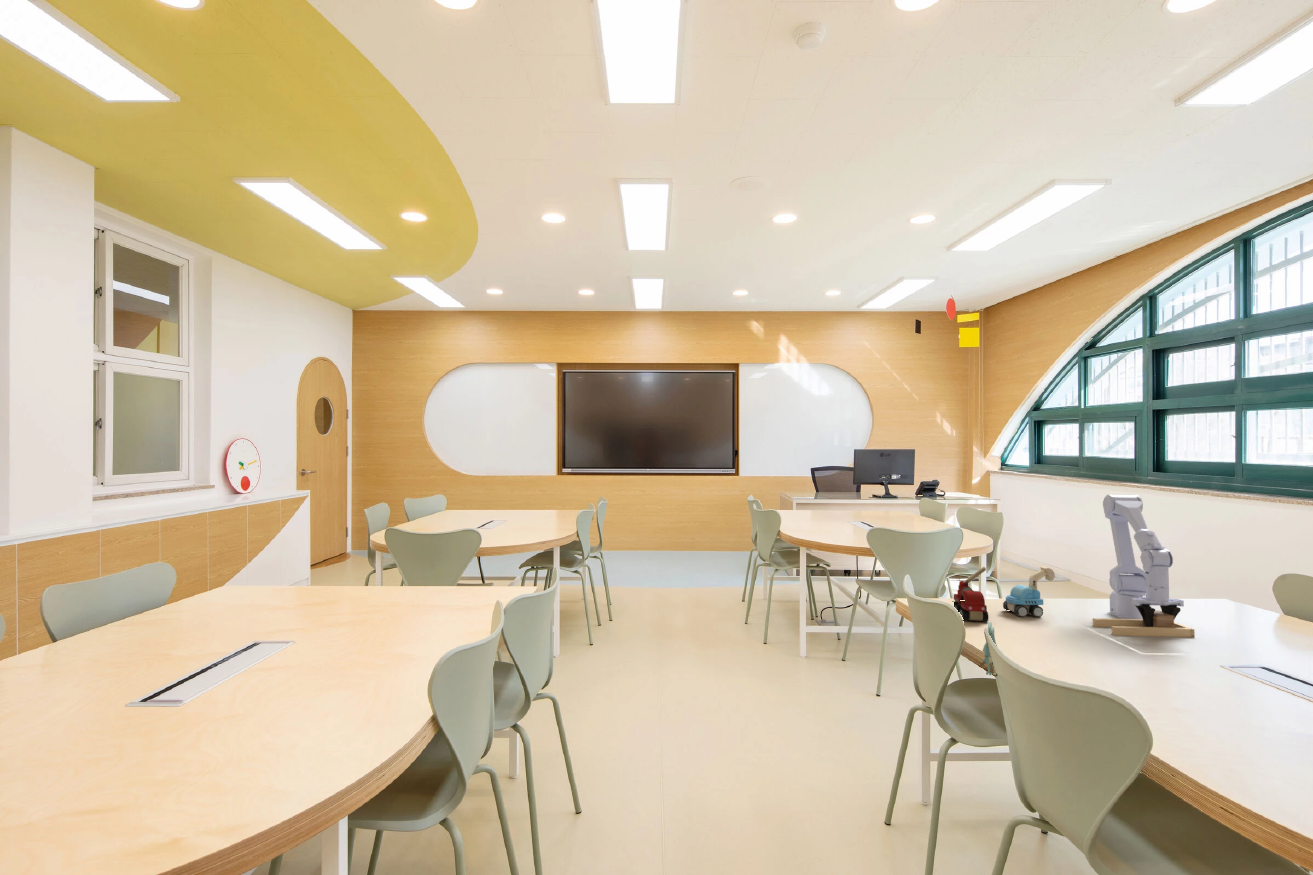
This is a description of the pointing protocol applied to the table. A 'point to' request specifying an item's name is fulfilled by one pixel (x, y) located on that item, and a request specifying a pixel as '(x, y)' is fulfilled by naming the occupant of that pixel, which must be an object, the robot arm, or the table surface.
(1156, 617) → the box
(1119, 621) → the bay
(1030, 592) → the toy excavator
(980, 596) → the toy fire truck
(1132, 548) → the robot arm
